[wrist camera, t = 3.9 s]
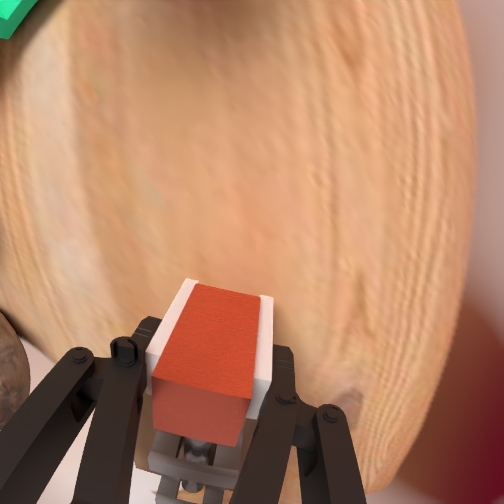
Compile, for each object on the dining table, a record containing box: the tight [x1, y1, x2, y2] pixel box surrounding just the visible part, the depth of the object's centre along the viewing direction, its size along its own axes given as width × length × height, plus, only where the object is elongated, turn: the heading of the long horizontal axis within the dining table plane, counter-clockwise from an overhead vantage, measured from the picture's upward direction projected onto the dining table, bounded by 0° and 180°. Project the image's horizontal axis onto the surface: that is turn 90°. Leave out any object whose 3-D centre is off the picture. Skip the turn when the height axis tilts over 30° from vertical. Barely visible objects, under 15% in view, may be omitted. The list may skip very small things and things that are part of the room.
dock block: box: [134, 389, 259, 504], centre depth 20 cm, size 12×14×8 cm
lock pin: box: [151, 283, 261, 493], centre depth 16 cm, size 4×18×7 cm, turn 169°
